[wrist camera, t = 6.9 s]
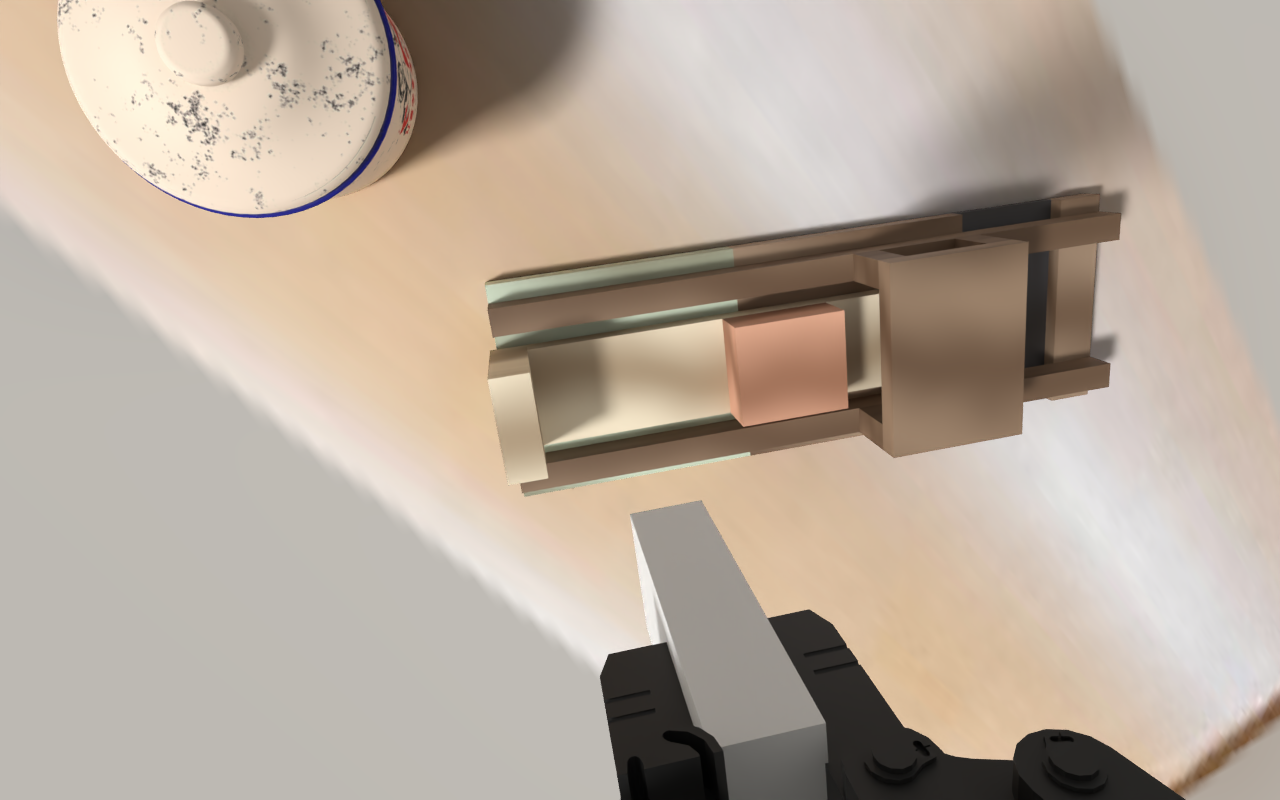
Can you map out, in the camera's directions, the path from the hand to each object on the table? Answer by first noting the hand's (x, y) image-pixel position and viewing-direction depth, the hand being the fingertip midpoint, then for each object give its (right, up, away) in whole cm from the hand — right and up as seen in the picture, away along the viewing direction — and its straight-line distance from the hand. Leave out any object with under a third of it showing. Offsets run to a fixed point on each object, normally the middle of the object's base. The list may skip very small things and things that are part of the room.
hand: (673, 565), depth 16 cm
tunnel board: (+7, +6, +21) cm, 23 cm away
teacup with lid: (-15, +17, +14) cm, 27 cm away
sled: (+2, +5, +19) cm, 20 cm away
